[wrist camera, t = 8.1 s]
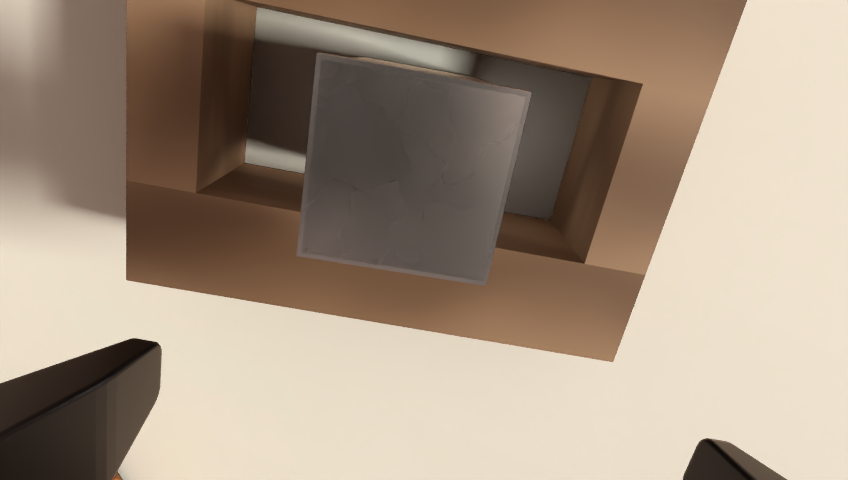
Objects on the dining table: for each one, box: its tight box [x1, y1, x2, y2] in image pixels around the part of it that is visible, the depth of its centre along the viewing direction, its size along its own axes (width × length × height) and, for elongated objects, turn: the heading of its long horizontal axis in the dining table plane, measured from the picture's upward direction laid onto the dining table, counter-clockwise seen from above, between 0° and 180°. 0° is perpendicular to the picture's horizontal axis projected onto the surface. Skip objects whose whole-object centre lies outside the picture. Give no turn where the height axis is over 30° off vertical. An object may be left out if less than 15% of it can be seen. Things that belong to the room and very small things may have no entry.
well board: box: [126, 0, 747, 362], centre depth 17 cm, size 12×16×4 cm
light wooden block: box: [296, 53, 532, 286], centre depth 15 cm, size 4×4×9 cm
